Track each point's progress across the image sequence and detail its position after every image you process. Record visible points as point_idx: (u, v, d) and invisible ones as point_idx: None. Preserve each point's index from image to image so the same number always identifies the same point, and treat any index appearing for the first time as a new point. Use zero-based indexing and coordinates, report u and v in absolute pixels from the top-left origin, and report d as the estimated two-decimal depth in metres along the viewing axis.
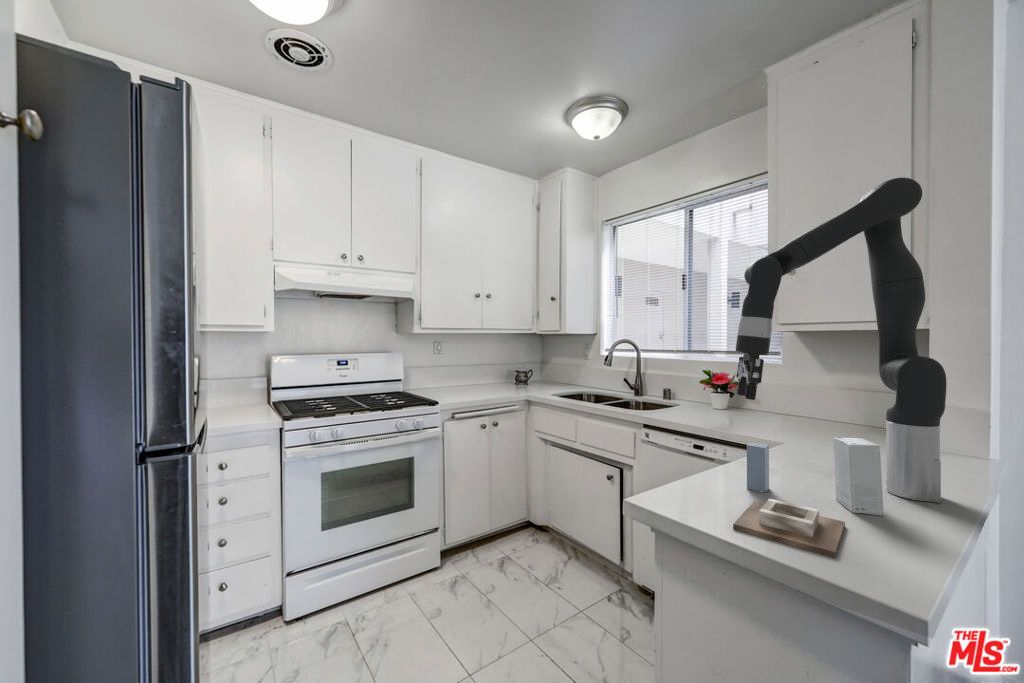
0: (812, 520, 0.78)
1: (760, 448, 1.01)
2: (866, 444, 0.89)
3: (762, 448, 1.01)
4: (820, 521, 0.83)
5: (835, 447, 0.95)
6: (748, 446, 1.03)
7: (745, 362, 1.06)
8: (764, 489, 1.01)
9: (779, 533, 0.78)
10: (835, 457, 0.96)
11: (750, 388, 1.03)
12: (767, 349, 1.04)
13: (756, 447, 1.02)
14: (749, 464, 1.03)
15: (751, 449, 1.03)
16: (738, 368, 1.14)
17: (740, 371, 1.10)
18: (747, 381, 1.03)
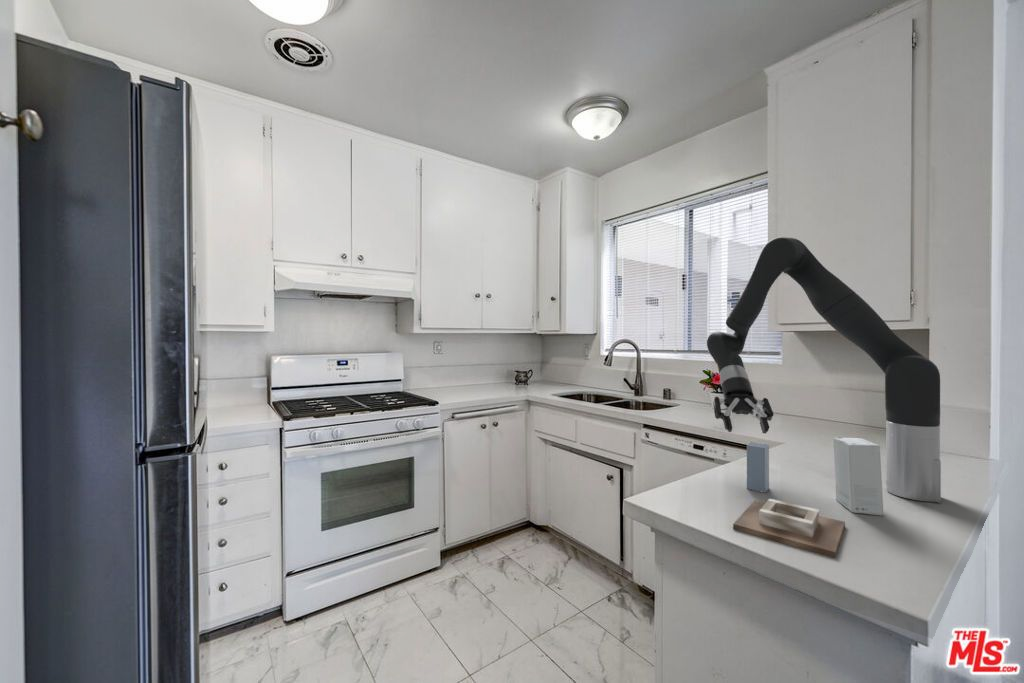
0: (812, 520, 0.78)
1: (760, 448, 1.01)
2: (866, 444, 0.89)
3: (762, 448, 1.01)
4: (820, 521, 0.83)
5: (835, 447, 0.95)
6: (748, 446, 1.03)
7: None
8: (764, 489, 1.01)
9: (779, 533, 0.78)
10: (835, 457, 0.96)
11: (724, 422, 1.15)
12: (730, 386, 1.19)
13: (756, 447, 1.02)
14: (749, 464, 1.03)
15: (751, 449, 1.03)
16: (765, 412, 1.15)
17: (751, 414, 1.16)
18: None
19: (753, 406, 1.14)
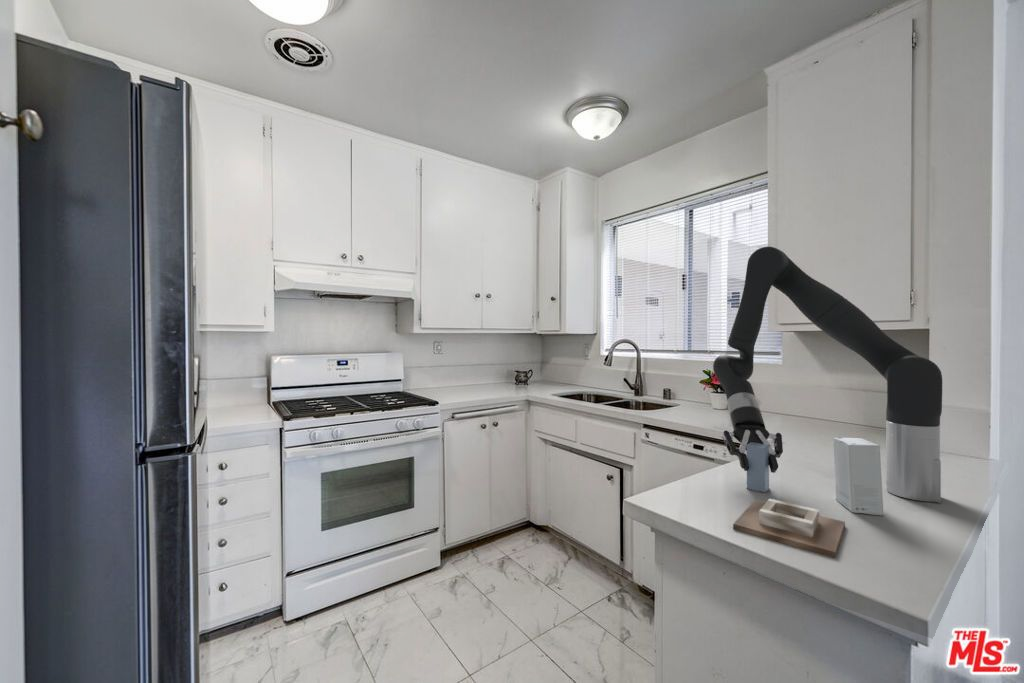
0: (812, 520, 0.78)
1: (760, 448, 1.01)
2: (866, 444, 0.89)
3: (762, 448, 1.01)
4: (820, 521, 0.83)
5: (835, 447, 0.96)
6: (748, 446, 1.03)
7: None
8: (764, 489, 1.01)
9: (779, 533, 0.78)
10: (835, 457, 0.96)
11: (739, 459, 1.05)
12: (740, 416, 1.10)
13: (756, 447, 1.02)
14: (749, 464, 1.03)
15: (751, 449, 1.03)
16: None
17: None
18: None
19: (763, 440, 1.05)
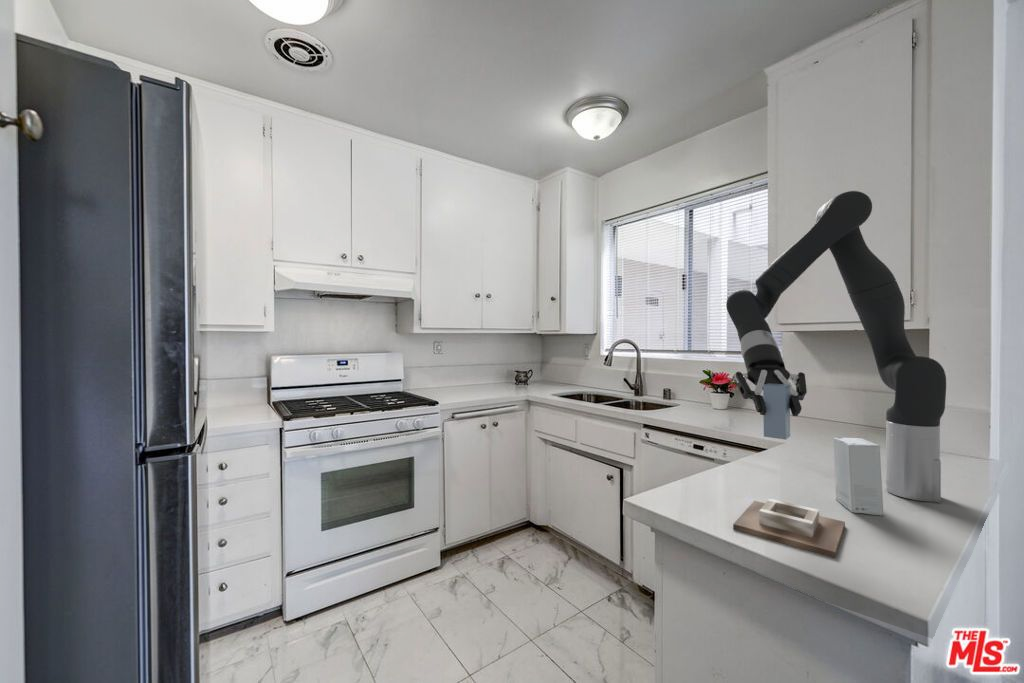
0: (812, 520, 0.78)
1: (779, 387, 0.86)
2: (866, 444, 0.89)
3: (782, 387, 0.85)
4: (820, 521, 0.83)
5: (835, 447, 0.96)
6: (765, 386, 0.87)
7: None
8: (784, 435, 0.85)
9: (779, 533, 0.78)
10: (835, 457, 0.96)
11: (754, 403, 0.89)
12: (755, 355, 0.94)
13: (774, 386, 0.86)
14: (766, 407, 0.87)
15: (768, 389, 0.87)
16: (797, 390, 0.90)
17: None
18: None
19: (783, 380, 0.89)
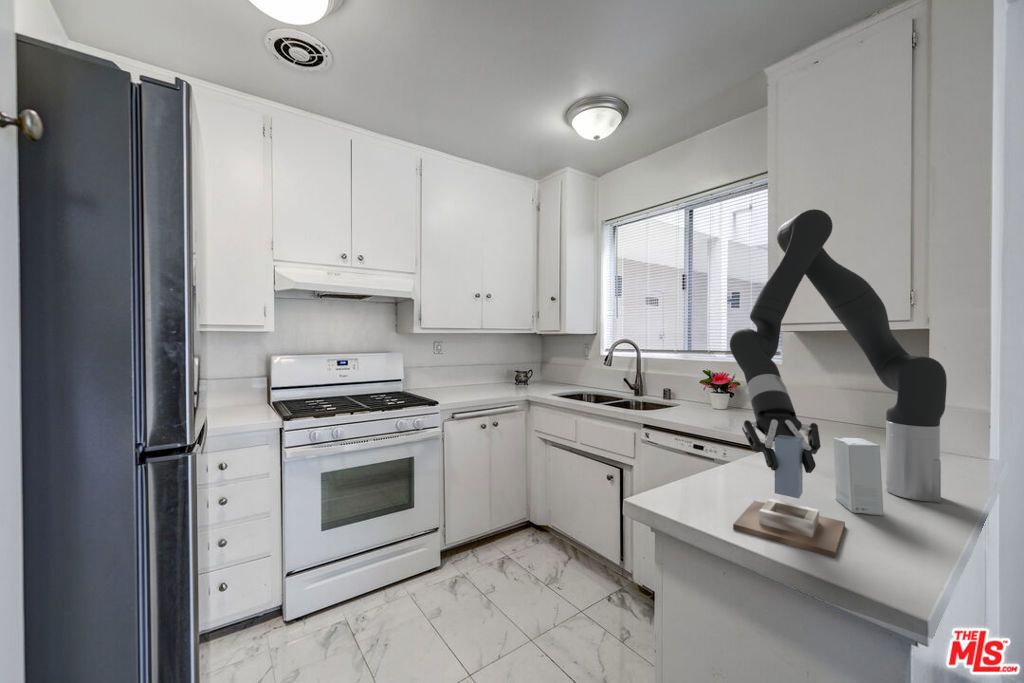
0: (812, 520, 0.78)
1: (792, 442, 0.80)
2: (866, 444, 0.89)
3: (795, 442, 0.80)
4: (820, 521, 0.83)
5: (835, 447, 0.96)
6: (776, 439, 0.82)
7: None
8: (797, 494, 0.79)
9: (779, 533, 0.78)
10: (835, 457, 0.96)
11: (765, 456, 0.83)
12: (764, 403, 0.88)
13: (787, 440, 0.81)
14: (778, 462, 0.82)
15: (780, 443, 0.81)
16: None
17: None
18: None
19: (795, 432, 0.84)
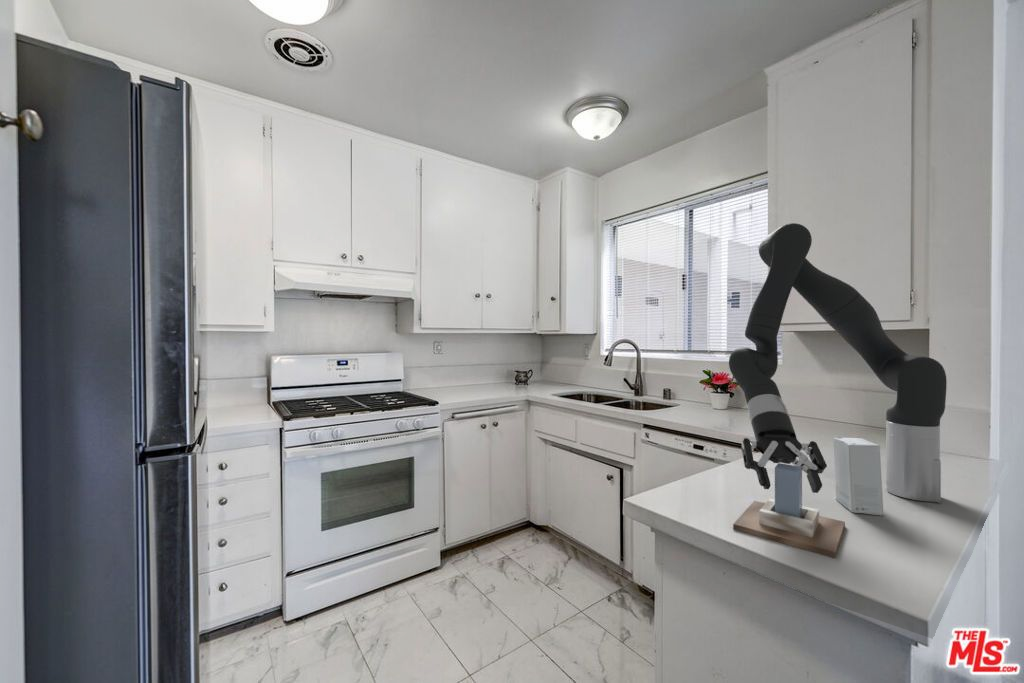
0: (812, 520, 0.78)
1: (793, 472, 0.80)
2: (866, 444, 0.89)
3: (795, 472, 0.80)
4: (820, 521, 0.83)
5: (835, 447, 0.96)
6: (777, 469, 0.82)
7: None
8: None
9: (779, 533, 0.78)
10: (835, 457, 0.96)
11: (757, 475, 0.84)
12: (764, 424, 0.88)
13: (787, 471, 0.81)
14: (778, 492, 0.82)
15: (780, 473, 0.81)
16: None
17: (794, 463, 0.86)
18: None
19: (798, 453, 0.84)
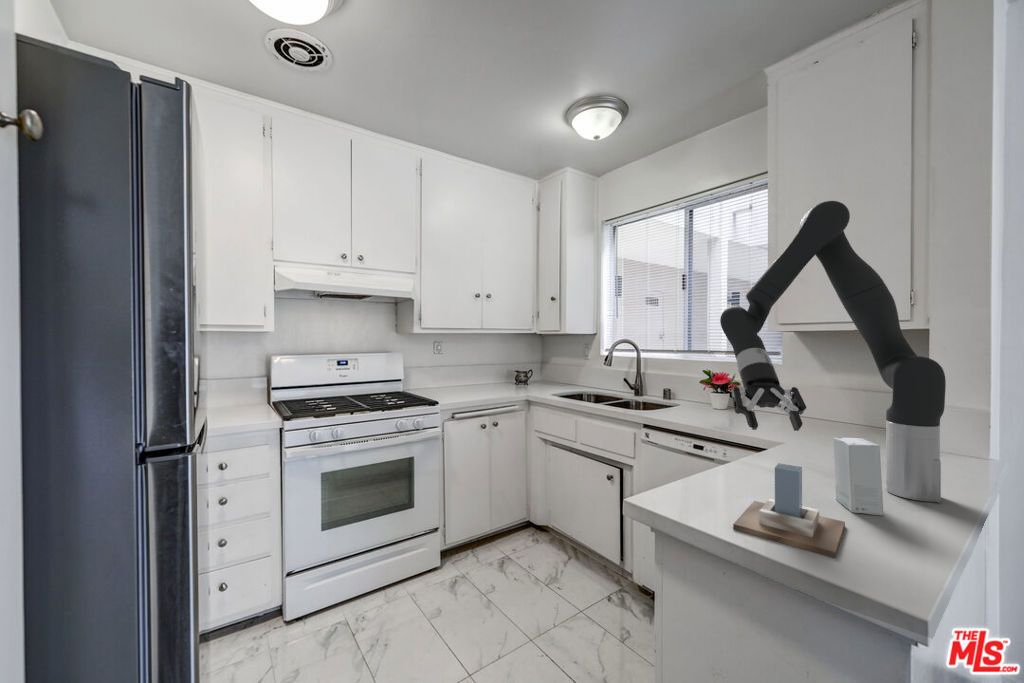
0: (812, 520, 0.78)
1: (793, 472, 0.80)
2: (866, 444, 0.89)
3: (795, 472, 0.80)
4: (820, 521, 0.83)
5: (835, 447, 0.96)
6: (777, 469, 0.82)
7: None
8: None
9: (779, 533, 0.78)
10: (835, 457, 0.96)
11: (746, 418, 0.95)
12: (752, 374, 0.98)
13: (787, 471, 0.81)
14: (778, 492, 0.82)
15: (780, 473, 0.81)
16: None
17: (777, 407, 0.96)
18: None
19: (781, 398, 0.94)
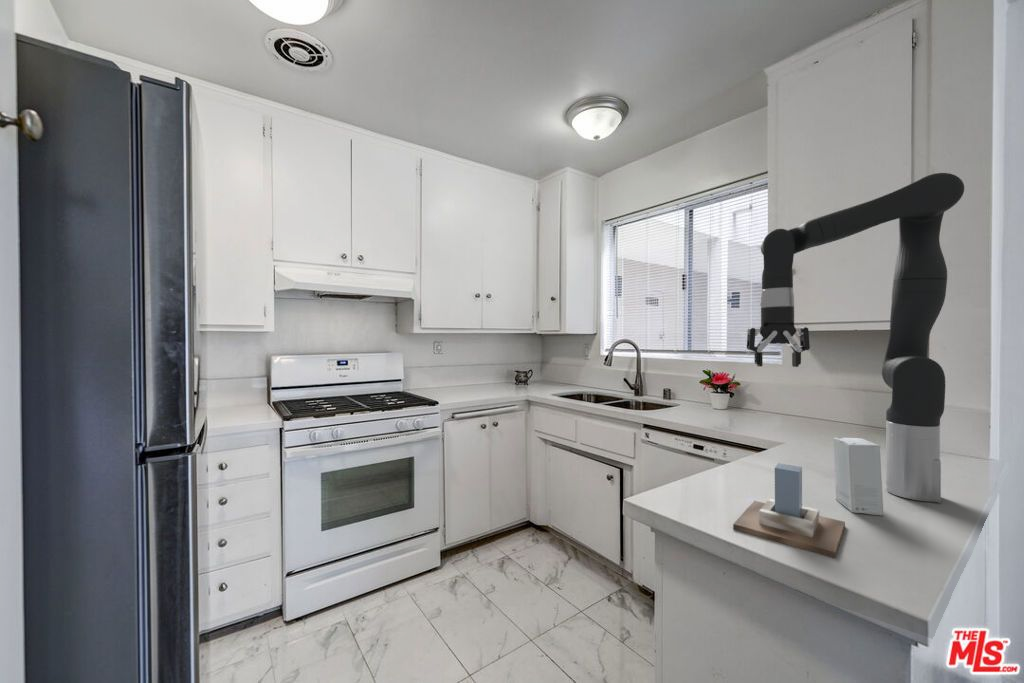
0: (812, 520, 0.78)
1: (793, 472, 0.80)
2: (866, 444, 0.89)
3: (795, 472, 0.80)
4: (820, 521, 0.83)
5: (835, 447, 0.96)
6: (777, 469, 0.82)
7: None
8: None
9: (779, 533, 0.78)
10: (835, 457, 0.96)
11: None
12: (771, 317, 1.08)
13: (787, 471, 0.81)
14: (778, 492, 0.82)
15: (780, 473, 0.81)
16: None
17: None
18: None
19: (790, 340, 1.08)
